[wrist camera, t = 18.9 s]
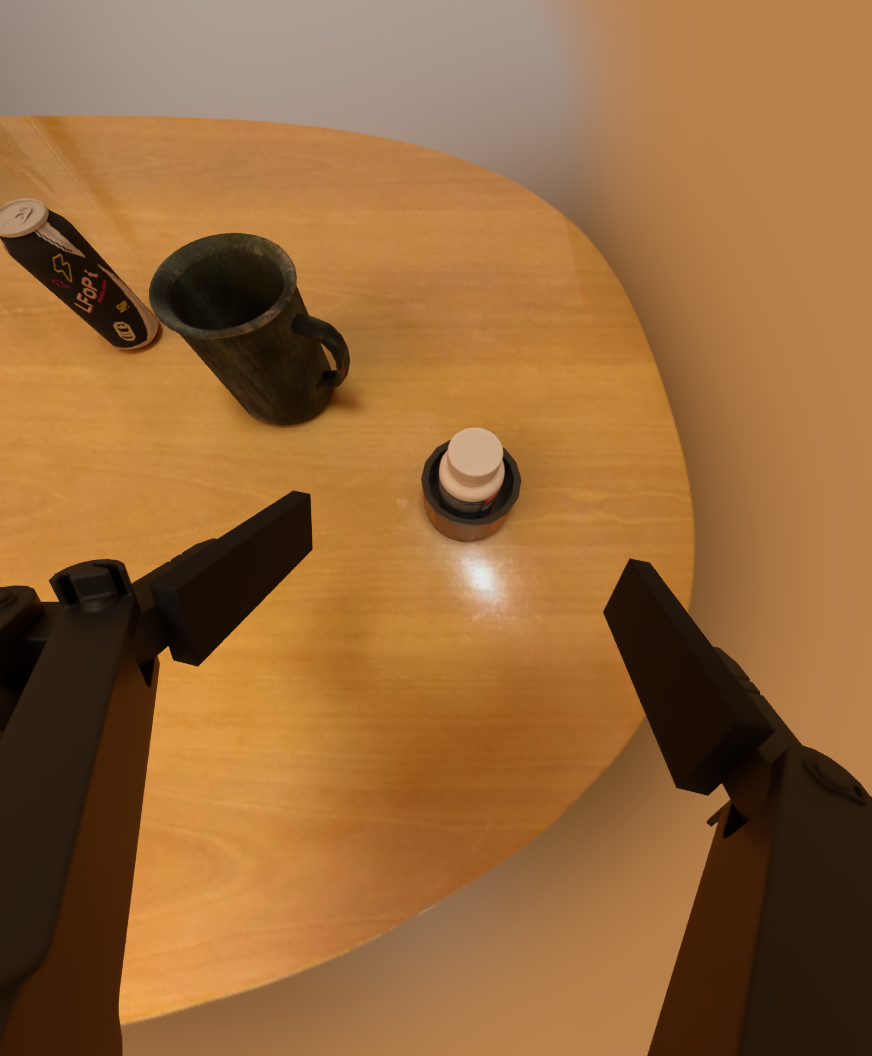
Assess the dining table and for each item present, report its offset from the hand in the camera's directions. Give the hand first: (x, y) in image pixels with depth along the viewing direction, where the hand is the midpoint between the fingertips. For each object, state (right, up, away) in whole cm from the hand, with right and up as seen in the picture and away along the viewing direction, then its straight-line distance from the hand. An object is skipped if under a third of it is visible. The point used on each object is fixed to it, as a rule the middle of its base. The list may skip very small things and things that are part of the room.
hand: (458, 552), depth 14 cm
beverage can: (-36, +24, +26) cm, 51 cm away
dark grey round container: (+2, +4, +19) cm, 19 cm away
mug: (-16, +16, +23) cm, 32 cm away
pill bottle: (+2, +4, +18) cm, 19 cm away
